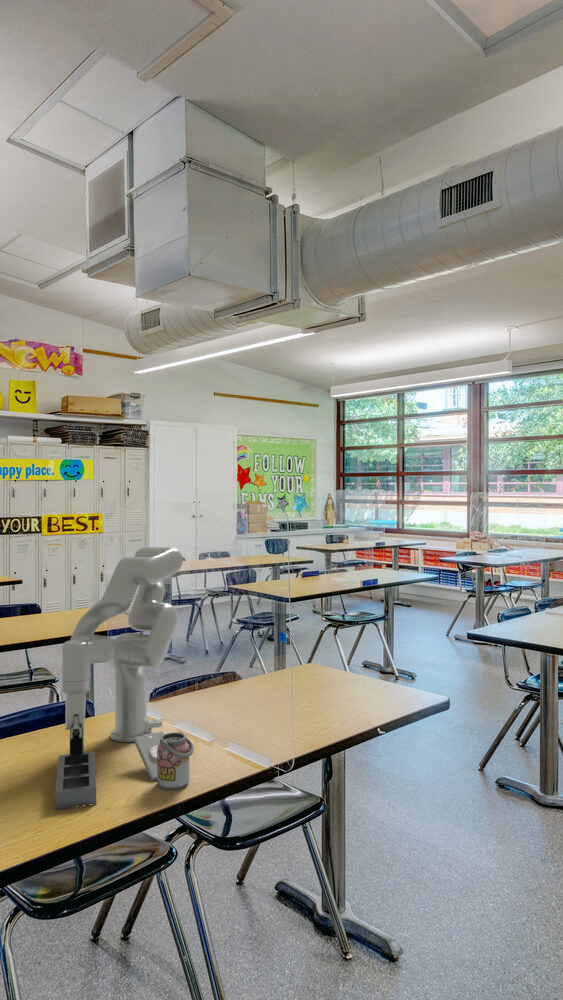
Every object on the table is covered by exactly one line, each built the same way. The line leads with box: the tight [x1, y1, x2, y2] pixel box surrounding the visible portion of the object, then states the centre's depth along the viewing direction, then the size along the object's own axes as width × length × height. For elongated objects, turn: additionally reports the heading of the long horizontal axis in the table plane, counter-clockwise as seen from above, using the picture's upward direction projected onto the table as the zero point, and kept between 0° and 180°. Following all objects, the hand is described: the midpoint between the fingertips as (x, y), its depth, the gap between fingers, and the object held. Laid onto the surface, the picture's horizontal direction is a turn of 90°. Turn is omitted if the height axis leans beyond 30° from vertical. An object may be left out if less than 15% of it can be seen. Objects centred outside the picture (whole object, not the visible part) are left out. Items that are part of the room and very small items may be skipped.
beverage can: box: [156, 731, 195, 791], centre depth 159 cm, size 9×8×12 cm
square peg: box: [69, 727, 85, 753], centre depth 175 cm, size 4×4×9 cm
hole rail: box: [54, 751, 97, 811], centre depth 159 cm, size 9×24×4 cm, turn 18°
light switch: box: [134, 731, 165, 782], centre depth 169 cm, size 8×6×14 cm
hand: (76, 747), depth 175 cm, fingers open, 8 cm apart
